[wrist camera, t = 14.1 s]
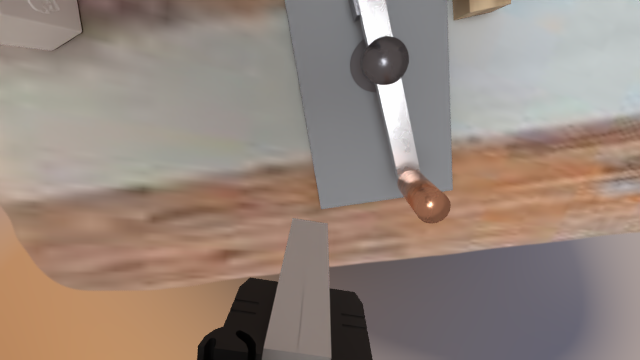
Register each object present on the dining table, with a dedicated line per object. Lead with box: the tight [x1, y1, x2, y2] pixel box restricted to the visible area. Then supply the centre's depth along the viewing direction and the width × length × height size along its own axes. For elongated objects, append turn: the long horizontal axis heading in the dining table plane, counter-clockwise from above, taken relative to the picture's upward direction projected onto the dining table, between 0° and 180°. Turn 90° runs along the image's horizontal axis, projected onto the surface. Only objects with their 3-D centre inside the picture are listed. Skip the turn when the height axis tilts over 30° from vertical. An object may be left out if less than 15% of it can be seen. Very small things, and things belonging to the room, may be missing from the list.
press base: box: [285, 0, 453, 209], centre depth 34 cm, size 25×17×4 cm
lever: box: [349, 0, 450, 223], centre depth 29 cm, size 22×4×11 cm, turn 16°
